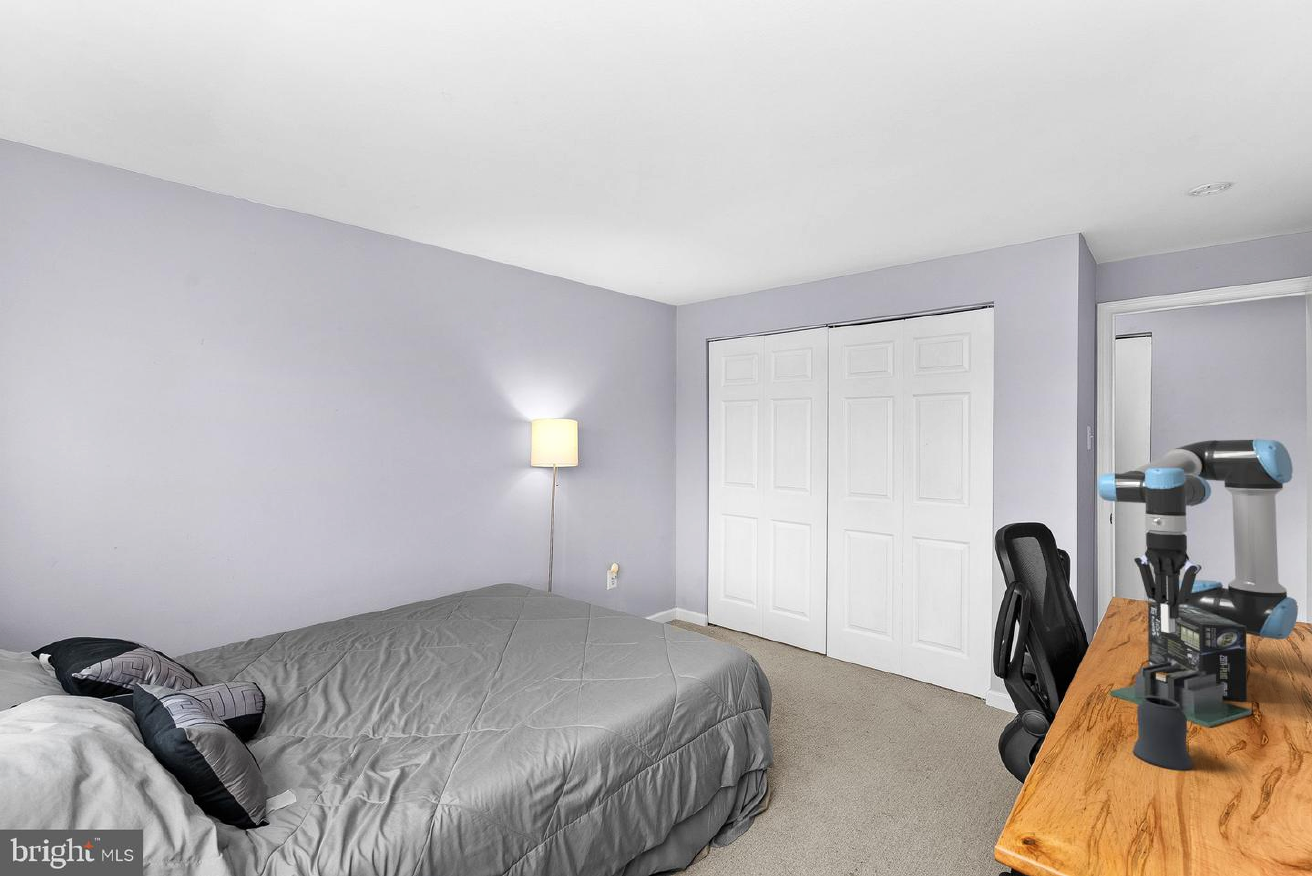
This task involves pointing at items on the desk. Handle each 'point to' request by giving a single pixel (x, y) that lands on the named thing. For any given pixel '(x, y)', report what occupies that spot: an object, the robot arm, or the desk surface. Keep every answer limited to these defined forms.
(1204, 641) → the box
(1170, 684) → the heatsink
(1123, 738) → the desk surface
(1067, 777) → the desk surface
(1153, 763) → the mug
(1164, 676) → the strap
